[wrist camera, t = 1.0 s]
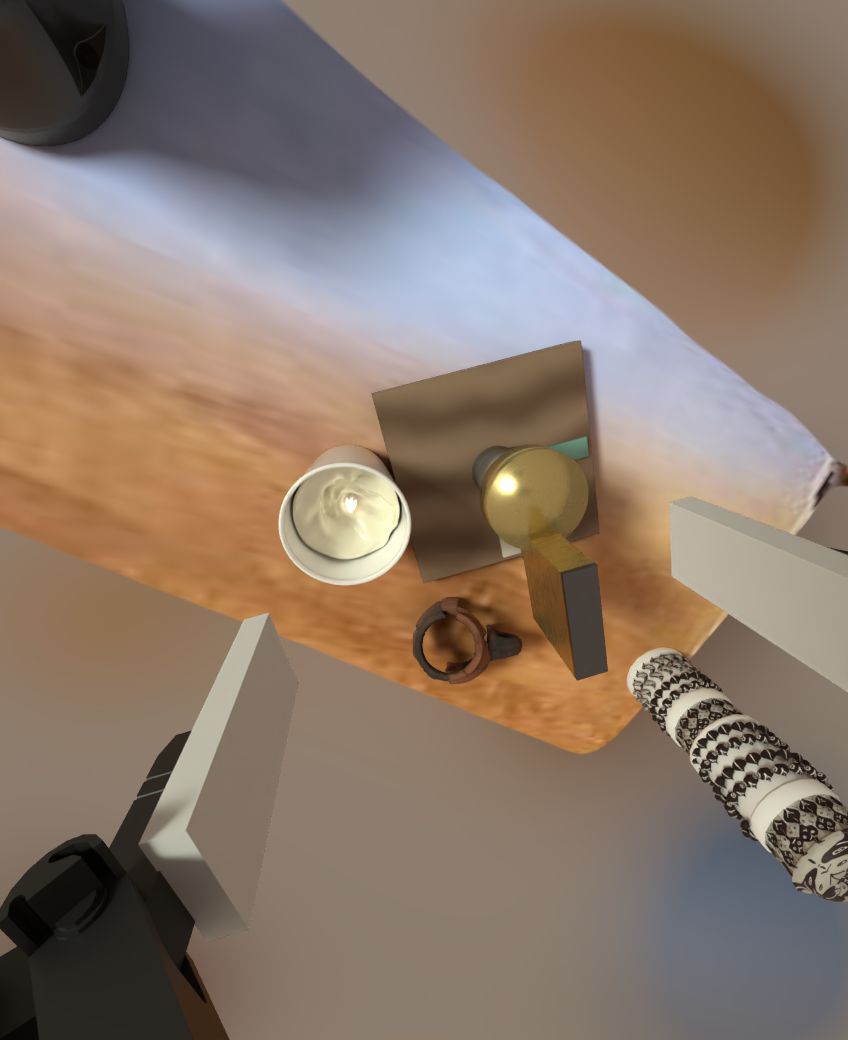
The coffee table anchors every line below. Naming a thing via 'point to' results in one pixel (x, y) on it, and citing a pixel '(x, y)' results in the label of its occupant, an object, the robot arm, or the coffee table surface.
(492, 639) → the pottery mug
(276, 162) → the coffee table surface
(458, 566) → the post plinth
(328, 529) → the candle holder
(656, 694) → the decorative candle
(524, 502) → the cap
